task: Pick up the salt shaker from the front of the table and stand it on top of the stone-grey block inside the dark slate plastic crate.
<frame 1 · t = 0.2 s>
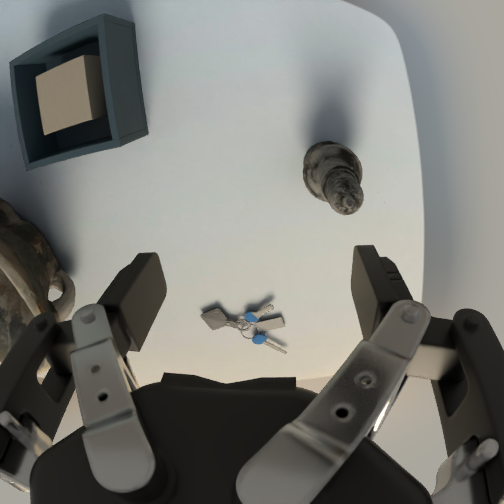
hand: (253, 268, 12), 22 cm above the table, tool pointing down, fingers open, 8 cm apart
crate: (90, 91, 29), on the table
block: (86, 92, 28), point 1 cm above the table, touching crate
key chain: (252, 318, 43), on the table
bowl: (34, 253, 42), on the table
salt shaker: (327, 164, 32), on the table
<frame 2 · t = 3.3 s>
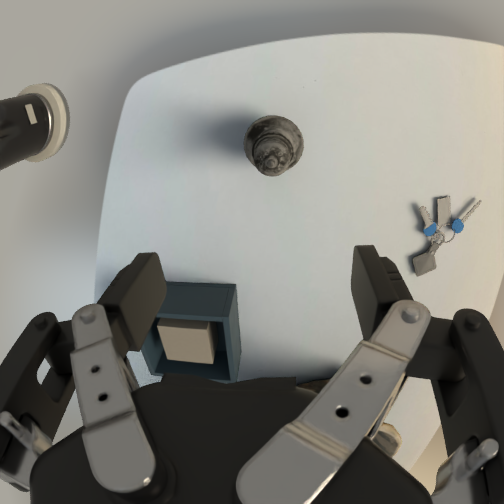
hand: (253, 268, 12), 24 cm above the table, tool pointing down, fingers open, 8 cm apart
crate: (194, 318, 46), on the table
block: (193, 322, 46), point 1 cm above the table, touching crate
key chain: (434, 227, 35), on the table
bowl: (319, 393, 54), on the table
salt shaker: (274, 138, 32), on the table
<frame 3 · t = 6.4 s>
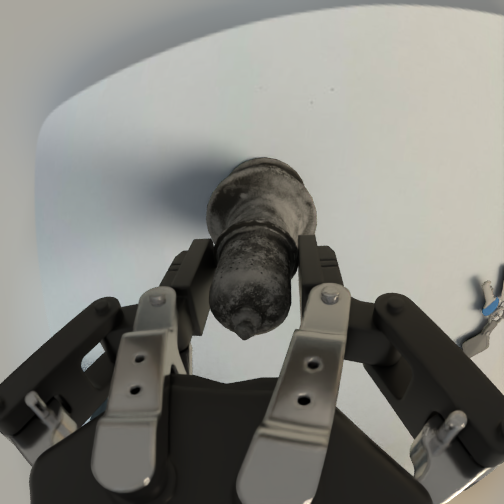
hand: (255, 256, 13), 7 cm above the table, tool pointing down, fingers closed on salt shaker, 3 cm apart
key chain: (494, 301, 22), on the table
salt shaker: (264, 197, 20), on the table, touching gripper
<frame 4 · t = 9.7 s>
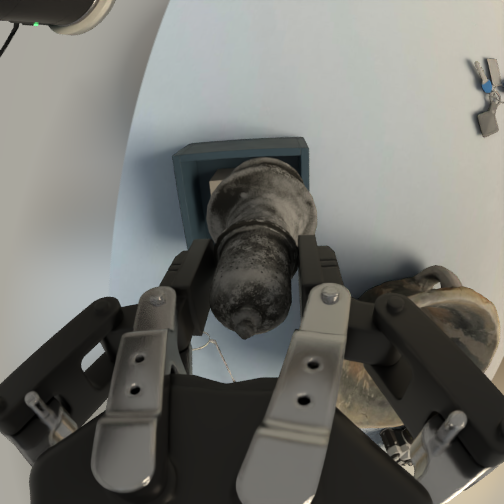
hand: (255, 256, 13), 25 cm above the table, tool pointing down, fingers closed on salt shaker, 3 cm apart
crate: (249, 192, 38), on the table
camera: (405, 428, 66), on the table
key chain: (489, 87, 27), on the table
bowl: (389, 306, 46), on the table
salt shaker: (264, 196, 20), point 18 cm above the table, touching gripper
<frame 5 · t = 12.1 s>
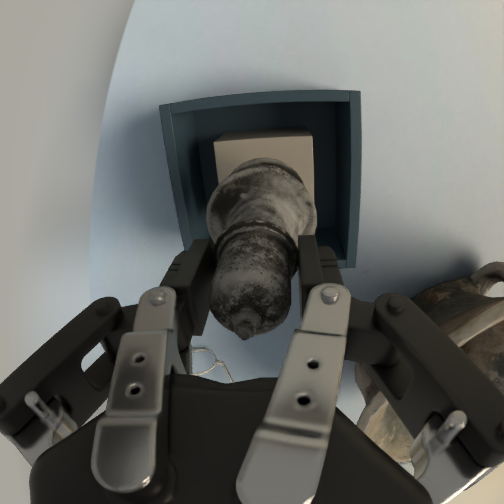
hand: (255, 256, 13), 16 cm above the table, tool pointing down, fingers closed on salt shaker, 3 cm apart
crate: (268, 165, 27), on the table
block: (268, 168, 27), point 1 cm above the table, touching crate
bowl: (437, 313, 34), on the table
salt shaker: (264, 197, 20), point 9 cm above the table, touching gripper
when the fingers open (13 cm above the table, at t = 13.3 s): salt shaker stays where it is, resting on block.
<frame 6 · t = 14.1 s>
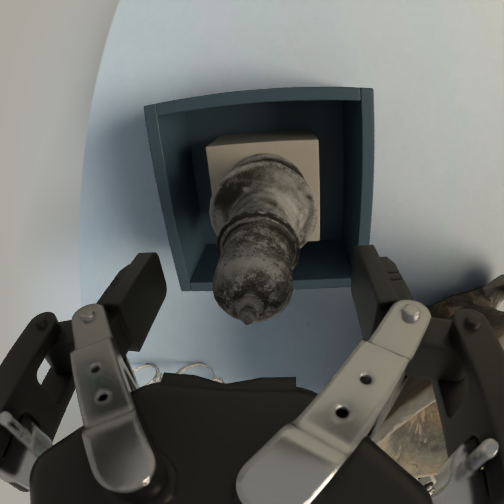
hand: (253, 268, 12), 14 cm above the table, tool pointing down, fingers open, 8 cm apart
crate: (269, 171, 25), on the table
camera: (438, 452, 52), on the table
block: (268, 174, 24), point 1 cm above the table, touching crate, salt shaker
eyeglasses: (194, 396, 42), on the table
bowl: (447, 326, 32), on the table
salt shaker: (266, 192, 20), point 6 cm above the table, touching block
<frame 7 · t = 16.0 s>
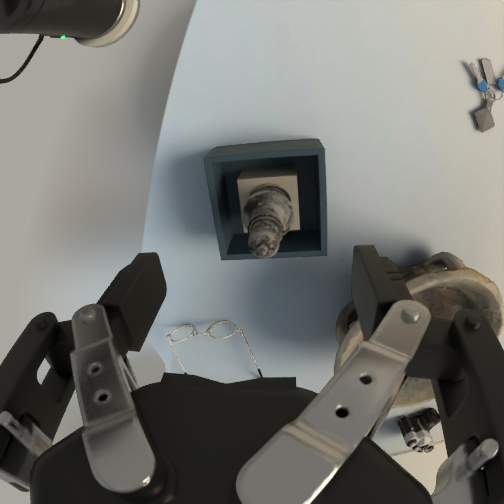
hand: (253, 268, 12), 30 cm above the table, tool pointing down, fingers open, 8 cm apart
crate: (271, 190, 42), on the table
camera: (421, 416, 68), on the table
block: (271, 191, 42), point 1 cm above the table, touching crate, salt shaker
eyeglasses: (219, 351, 60), on the table
key chain: (484, 85, 30), on the table
bowl: (402, 292, 48), on the table
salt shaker: (269, 203, 37), point 6 cm above the table, touching block
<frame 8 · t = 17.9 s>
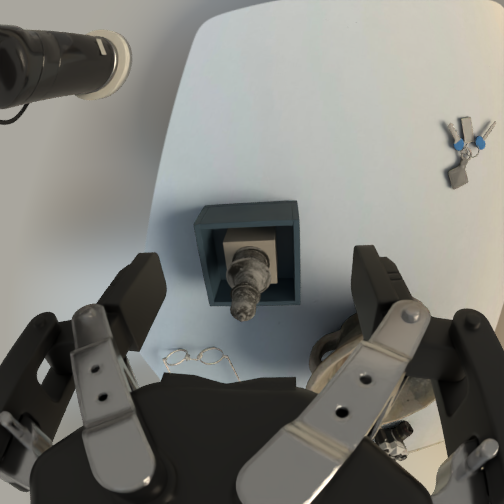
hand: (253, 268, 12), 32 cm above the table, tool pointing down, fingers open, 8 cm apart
crate: (254, 243, 48), on the table
camera: (395, 427, 76), on the table
block: (253, 246, 48), point 1 cm above the table, touching crate, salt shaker
eyeglasses: (208, 371, 66), on the table
key chain: (461, 143, 37), on the table
bowl: (371, 327, 55), on the table
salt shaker: (251, 262, 44), point 6 cm above the table, touching block
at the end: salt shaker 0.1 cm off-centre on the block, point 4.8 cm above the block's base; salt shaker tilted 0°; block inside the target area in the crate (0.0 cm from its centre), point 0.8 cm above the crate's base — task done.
